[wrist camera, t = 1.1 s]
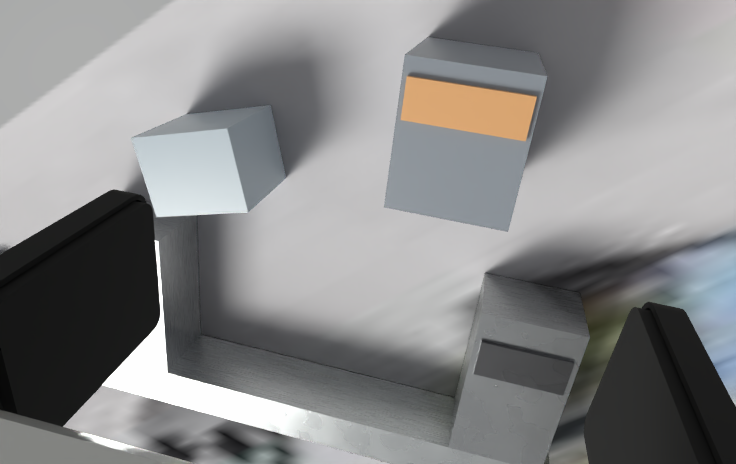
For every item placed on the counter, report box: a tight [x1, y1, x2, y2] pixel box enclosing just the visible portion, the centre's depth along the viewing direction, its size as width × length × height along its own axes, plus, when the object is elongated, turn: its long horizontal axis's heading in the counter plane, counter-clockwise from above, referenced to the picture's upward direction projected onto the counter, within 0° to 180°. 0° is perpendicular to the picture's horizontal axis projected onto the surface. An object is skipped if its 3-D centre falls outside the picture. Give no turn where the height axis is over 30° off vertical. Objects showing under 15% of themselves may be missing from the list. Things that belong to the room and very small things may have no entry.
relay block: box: [131, 105, 286, 217], centre depth 28 cm, size 5×4×5 cm
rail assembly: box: [102, 201, 590, 464], centre depth 31 cm, size 28×11×4 cm, turn 83°
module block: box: [384, 37, 548, 232], centre depth 23 cm, size 5×6×7 cm
